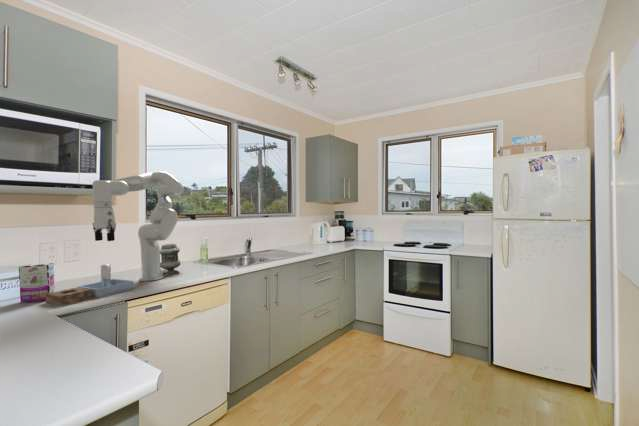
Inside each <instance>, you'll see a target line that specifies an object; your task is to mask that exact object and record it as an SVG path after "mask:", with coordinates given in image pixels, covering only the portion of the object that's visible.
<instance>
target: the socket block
mask: <svg viewBox="0 0 639 426" xmlns="http://www.w3.org/2000/svg"><path fill="white" fill-rule="evenodd" d="M92 298H93V297H92V296H91V289H84V288H77V286H76V287H71V288H65V289H63V290H62V289H61V290H58V291H55V292H52V293H48V294H46V301H45V303H46V304H50V305H54V306H60V307H63V306H66V305H69V304H75V303H78V302H81V301H86V300H90V299H92Z"/></svg>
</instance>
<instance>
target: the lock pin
mask: <svg viewBox="0 0 639 426" xmlns="http://www.w3.org/2000/svg"><path fill="white" fill-rule="evenodd" d="M111 270H112V269H111V264H102V265H100V282H101V288H103V287H107V286H111V279H112V272H111Z"/></svg>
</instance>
